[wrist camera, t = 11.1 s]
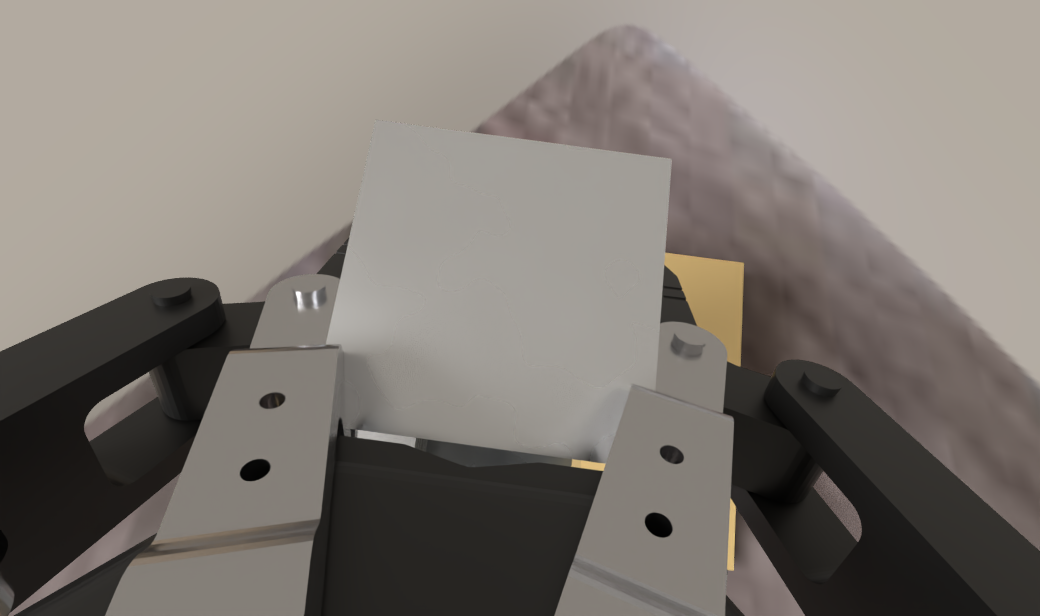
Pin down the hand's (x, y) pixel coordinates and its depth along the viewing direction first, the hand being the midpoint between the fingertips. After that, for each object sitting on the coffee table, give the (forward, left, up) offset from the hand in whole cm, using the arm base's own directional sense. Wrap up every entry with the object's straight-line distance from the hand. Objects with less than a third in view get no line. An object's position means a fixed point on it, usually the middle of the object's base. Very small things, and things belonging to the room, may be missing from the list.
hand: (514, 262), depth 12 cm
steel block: (0, +2, -4) cm, 5 cm away
